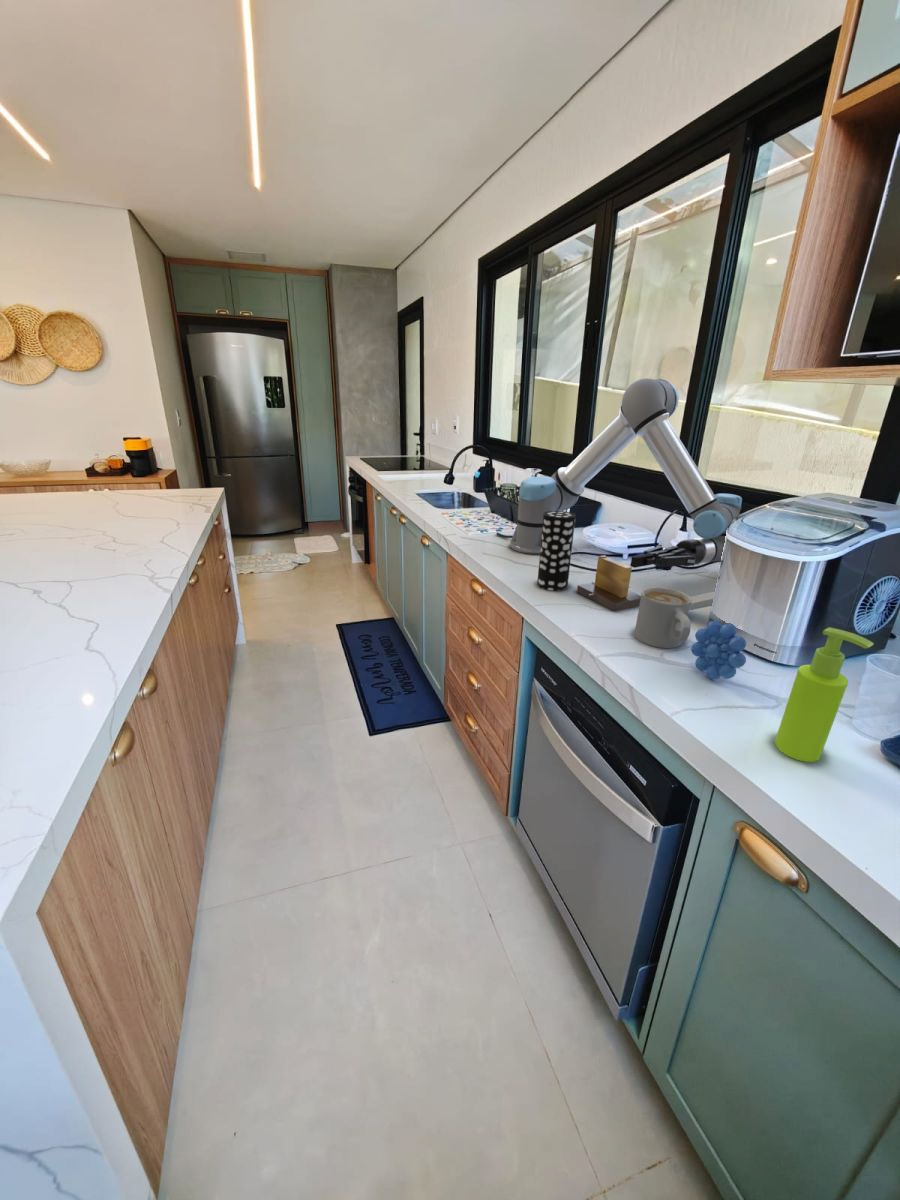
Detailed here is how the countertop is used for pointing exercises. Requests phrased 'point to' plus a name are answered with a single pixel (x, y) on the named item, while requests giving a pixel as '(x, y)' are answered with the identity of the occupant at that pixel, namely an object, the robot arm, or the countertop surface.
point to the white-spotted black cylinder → (555, 550)
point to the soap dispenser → (815, 699)
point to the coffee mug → (663, 617)
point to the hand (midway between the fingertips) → (633, 562)
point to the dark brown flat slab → (608, 597)
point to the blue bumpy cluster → (719, 650)
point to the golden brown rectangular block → (613, 576)
